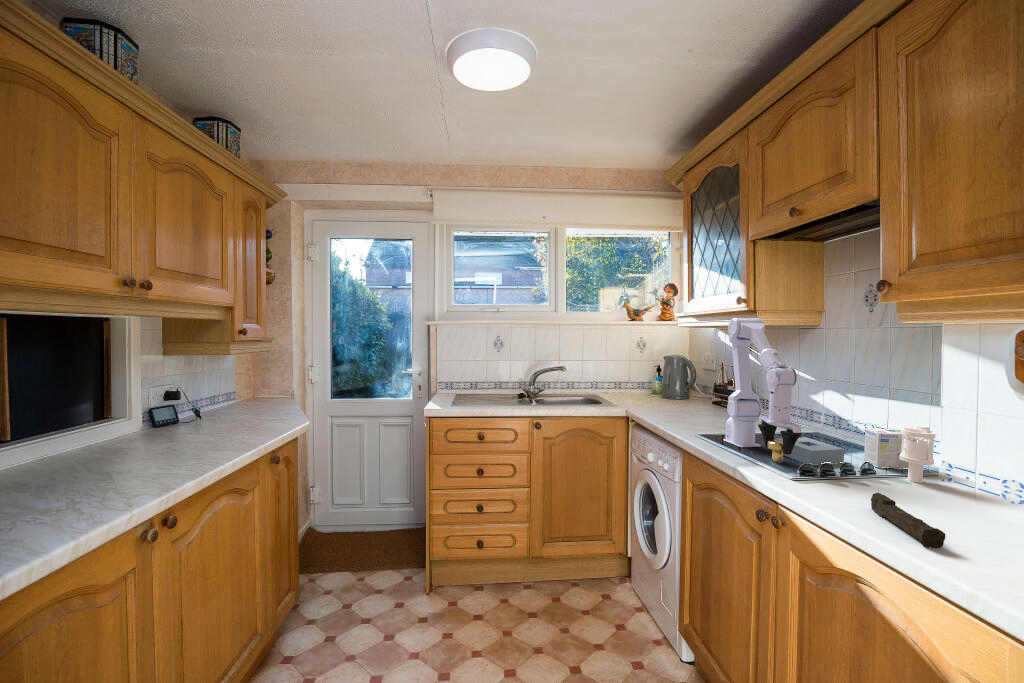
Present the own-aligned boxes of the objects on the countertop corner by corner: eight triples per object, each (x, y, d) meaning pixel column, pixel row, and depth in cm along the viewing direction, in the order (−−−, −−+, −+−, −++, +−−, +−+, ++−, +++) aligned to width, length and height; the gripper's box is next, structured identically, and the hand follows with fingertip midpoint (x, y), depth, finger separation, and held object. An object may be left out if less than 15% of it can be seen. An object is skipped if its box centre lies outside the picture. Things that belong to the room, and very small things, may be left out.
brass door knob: (762, 459, 143) (763, 440, 143) (778, 458, 144) (779, 439, 144) (776, 464, 138) (777, 445, 137) (792, 463, 139) (793, 444, 139)
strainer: (939, 484, 123) (942, 429, 122) (920, 486, 121) (923, 430, 120) (909, 475, 130) (913, 423, 129) (891, 477, 128) (894, 424, 127)
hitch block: (774, 452, 151) (775, 438, 151) (805, 450, 154) (806, 437, 153) (810, 465, 138) (811, 450, 137) (843, 463, 140) (844, 449, 140)
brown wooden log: (946, 551, 87) (948, 527, 87) (922, 548, 88) (923, 524, 88) (885, 510, 106) (886, 491, 105) (865, 509, 106) (866, 489, 106)
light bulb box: (899, 463, 141) (901, 428, 141) (916, 470, 135) (918, 434, 134) (862, 461, 142) (864, 427, 142) (877, 468, 136) (879, 432, 135)
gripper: (751, 402, 146) (749, 444, 147) (787, 411, 132) (785, 458, 133) (770, 402, 148) (768, 443, 149) (808, 411, 134) (805, 457, 134)
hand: (777, 450), depth 141 cm, fingers open, 7 cm apart
